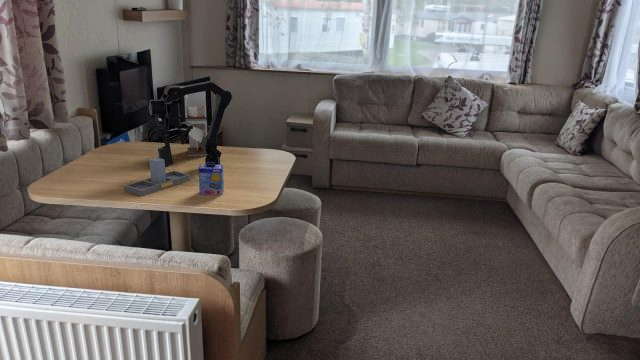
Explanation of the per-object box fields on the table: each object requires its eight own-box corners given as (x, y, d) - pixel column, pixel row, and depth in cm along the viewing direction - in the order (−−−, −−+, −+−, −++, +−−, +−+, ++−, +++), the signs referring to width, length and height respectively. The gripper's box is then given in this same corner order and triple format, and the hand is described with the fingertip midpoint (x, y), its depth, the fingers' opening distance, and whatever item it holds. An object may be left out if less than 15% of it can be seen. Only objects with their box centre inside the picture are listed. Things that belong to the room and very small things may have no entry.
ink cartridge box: (199, 195, 209) (197, 162, 204) (201, 190, 214) (199, 159, 210) (222, 195, 210) (221, 163, 205) (224, 191, 215) (223, 159, 211)
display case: (187, 150, 273) (184, 87, 262) (207, 150, 276) (204, 87, 265) (187, 156, 263) (184, 90, 252) (208, 155, 265) (205, 90, 254)
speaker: (176, 164, 249) (173, 144, 246) (167, 167, 245) (163, 146, 242) (168, 162, 254) (164, 142, 250) (158, 165, 249) (154, 145, 246)
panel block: (158, 180, 222) (156, 157, 218) (166, 183, 219) (164, 159, 216) (151, 183, 219) (149, 159, 215) (159, 185, 216) (157, 161, 213)
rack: (174, 175, 233) (174, 170, 232) (190, 179, 227) (190, 174, 227) (125, 190, 211) (124, 185, 210) (141, 196, 206) (141, 190, 205)
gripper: (176, 108, 239) (178, 139, 244) (145, 114, 224) (147, 147, 229) (192, 111, 234) (194, 143, 239) (161, 117, 219) (164, 151, 224)
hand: (175, 146), depth 233 cm, fingers open, 9 cm apart
